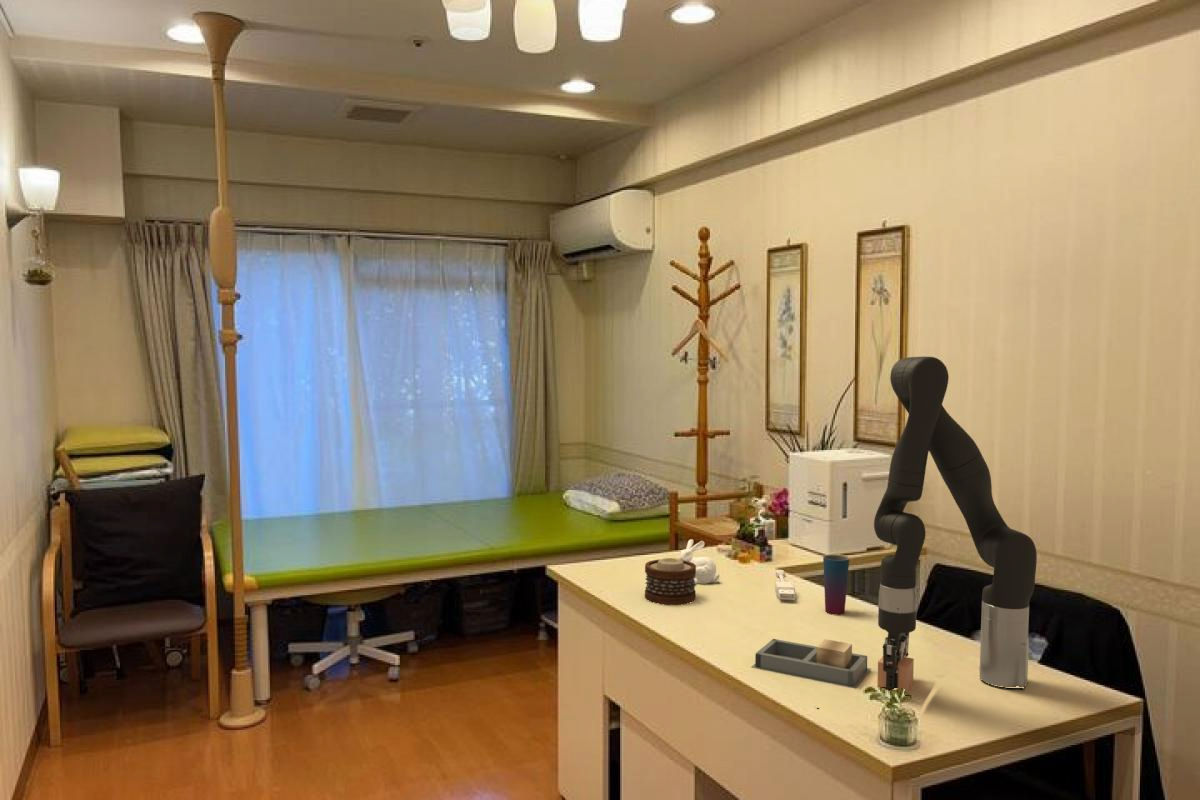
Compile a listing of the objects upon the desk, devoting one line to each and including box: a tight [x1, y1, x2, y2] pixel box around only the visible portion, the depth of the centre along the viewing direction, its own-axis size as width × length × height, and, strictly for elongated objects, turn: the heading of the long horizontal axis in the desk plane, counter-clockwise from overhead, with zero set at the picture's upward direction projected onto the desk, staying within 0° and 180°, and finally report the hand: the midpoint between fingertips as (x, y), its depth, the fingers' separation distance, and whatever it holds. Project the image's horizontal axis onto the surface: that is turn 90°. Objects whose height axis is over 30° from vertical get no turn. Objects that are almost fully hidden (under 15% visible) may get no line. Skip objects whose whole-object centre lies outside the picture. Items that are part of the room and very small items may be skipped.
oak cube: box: [816, 638, 853, 669], centre depth 195 cm, size 6×6×6 cm
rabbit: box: [678, 539, 721, 585], centre depth 273 cm, size 12×9×12 cm
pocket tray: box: [751, 638, 872, 689], centre depth 198 cm, size 23×13×4 cm, turn 59°
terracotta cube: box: [877, 655, 915, 693], centre depth 189 cm, size 6×6×6 cm
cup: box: [822, 554, 850, 616], centre depth 242 cm, size 7×7×15 cm
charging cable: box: [774, 569, 796, 601], centre depth 266 cm, size 5×32×3 cm, turn 172°
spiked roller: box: [644, 557, 697, 606], centre depth 255 cm, size 15×11×15 cm
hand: (895, 684), depth 189 cm, fingers closed on terracotta cube, 6 cm apart
